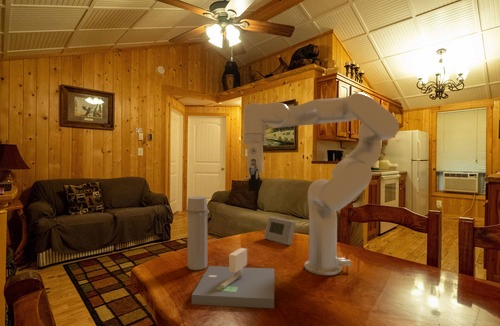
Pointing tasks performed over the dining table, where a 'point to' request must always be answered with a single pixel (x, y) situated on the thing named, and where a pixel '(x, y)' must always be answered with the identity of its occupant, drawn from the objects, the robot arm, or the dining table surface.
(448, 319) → the dining table surface
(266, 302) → the grey square board
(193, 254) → the water bottle
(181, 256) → the dining table surface
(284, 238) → the digital clock
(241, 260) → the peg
